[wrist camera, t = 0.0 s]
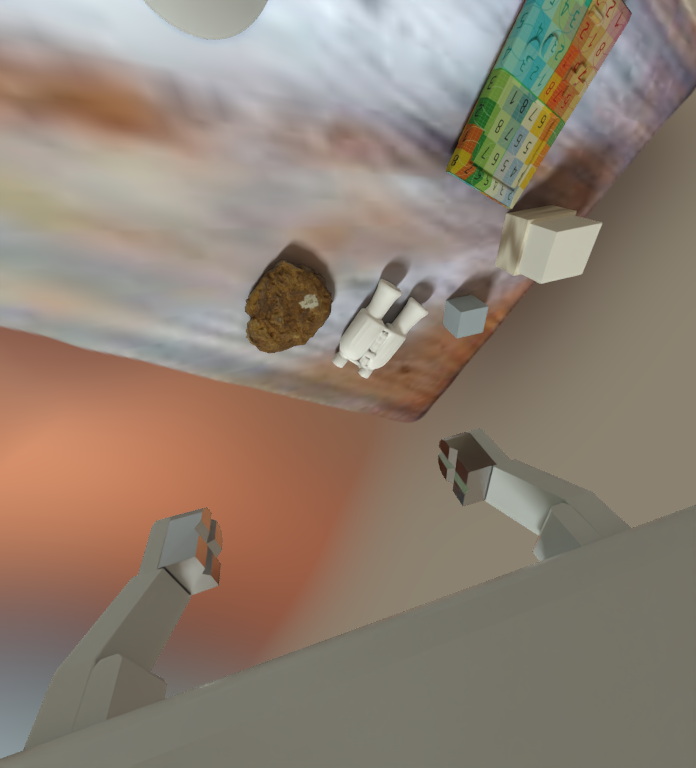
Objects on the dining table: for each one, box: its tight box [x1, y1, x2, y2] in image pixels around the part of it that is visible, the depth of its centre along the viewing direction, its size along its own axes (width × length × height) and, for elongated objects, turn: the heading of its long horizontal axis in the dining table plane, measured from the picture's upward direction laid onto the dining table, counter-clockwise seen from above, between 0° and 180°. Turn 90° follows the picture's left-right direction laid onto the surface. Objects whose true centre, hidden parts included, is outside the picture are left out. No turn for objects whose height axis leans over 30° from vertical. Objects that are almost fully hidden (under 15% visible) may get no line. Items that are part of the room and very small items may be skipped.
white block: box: [518, 215, 602, 284], centre depth 45 cm, size 7×7×5 cm
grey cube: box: [443, 295, 488, 338], centre depth 54 cm, size 5×5×5 cm
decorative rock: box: [245, 260, 333, 353], centre depth 46 cm, size 11×4×15 cm
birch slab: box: [495, 205, 577, 276], centre depth 49 cm, size 8×8×5 cm
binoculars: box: [332, 279, 429, 378], centre depth 52 cm, size 10×16×5 cm, turn 145°
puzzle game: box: [446, 0, 632, 210], centre depth 37 cm, size 12×5×20 cm
